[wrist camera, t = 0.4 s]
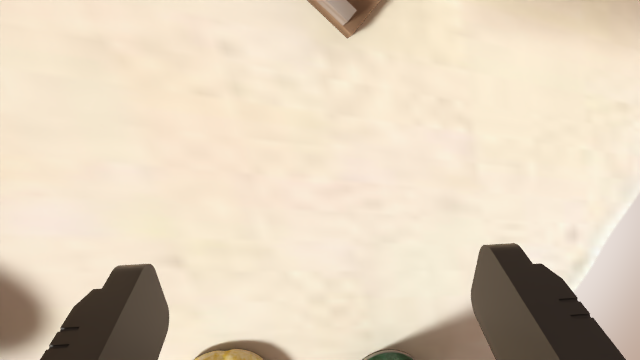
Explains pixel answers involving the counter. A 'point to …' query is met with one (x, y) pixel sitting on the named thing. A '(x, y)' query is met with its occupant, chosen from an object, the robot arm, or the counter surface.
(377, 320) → the counter surface
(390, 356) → the canned tomato
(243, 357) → the bread roll
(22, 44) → the counter surface
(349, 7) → the fader console
